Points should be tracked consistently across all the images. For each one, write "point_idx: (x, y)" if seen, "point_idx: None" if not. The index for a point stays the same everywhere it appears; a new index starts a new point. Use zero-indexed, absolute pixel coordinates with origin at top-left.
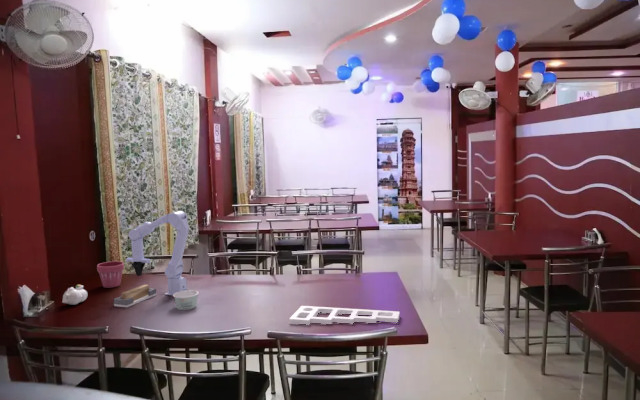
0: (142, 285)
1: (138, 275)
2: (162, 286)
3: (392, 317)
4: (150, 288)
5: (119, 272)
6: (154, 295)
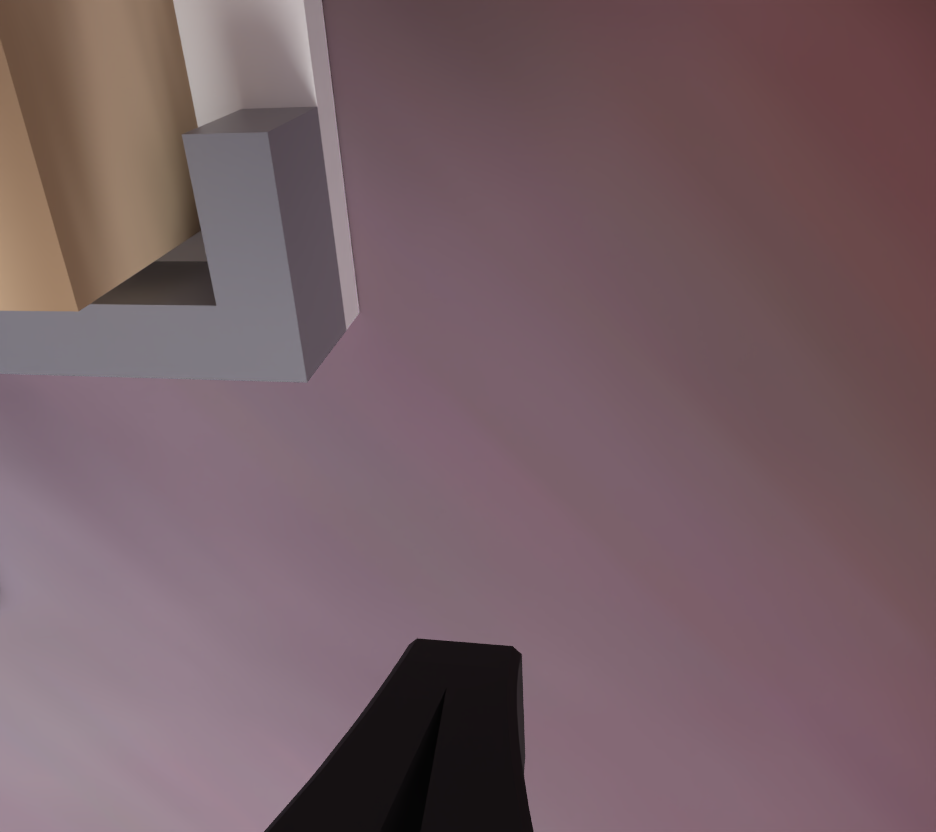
0: (17, 197)
1: (420, 654)
2: None
3: None
4: (70, 356)
5: None
6: None
